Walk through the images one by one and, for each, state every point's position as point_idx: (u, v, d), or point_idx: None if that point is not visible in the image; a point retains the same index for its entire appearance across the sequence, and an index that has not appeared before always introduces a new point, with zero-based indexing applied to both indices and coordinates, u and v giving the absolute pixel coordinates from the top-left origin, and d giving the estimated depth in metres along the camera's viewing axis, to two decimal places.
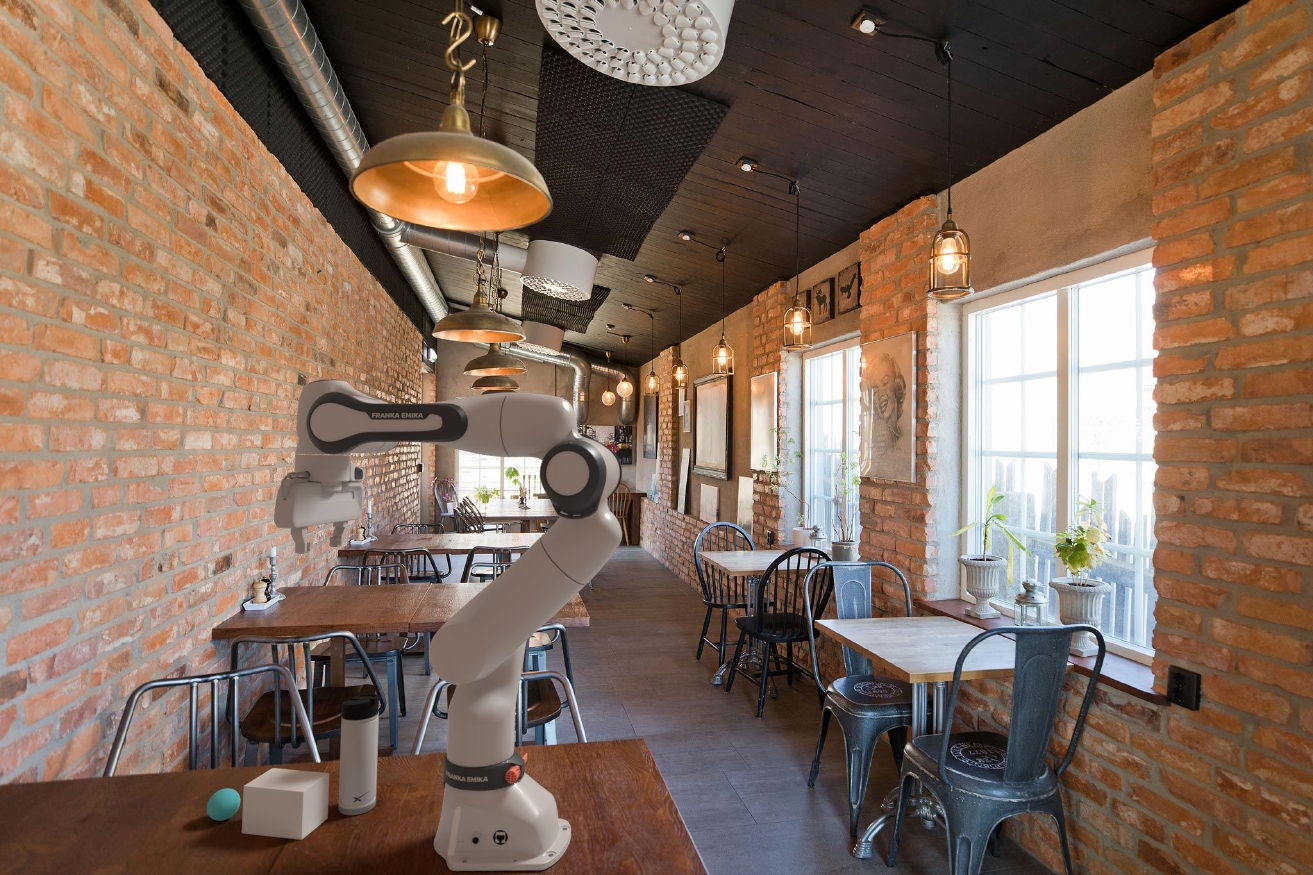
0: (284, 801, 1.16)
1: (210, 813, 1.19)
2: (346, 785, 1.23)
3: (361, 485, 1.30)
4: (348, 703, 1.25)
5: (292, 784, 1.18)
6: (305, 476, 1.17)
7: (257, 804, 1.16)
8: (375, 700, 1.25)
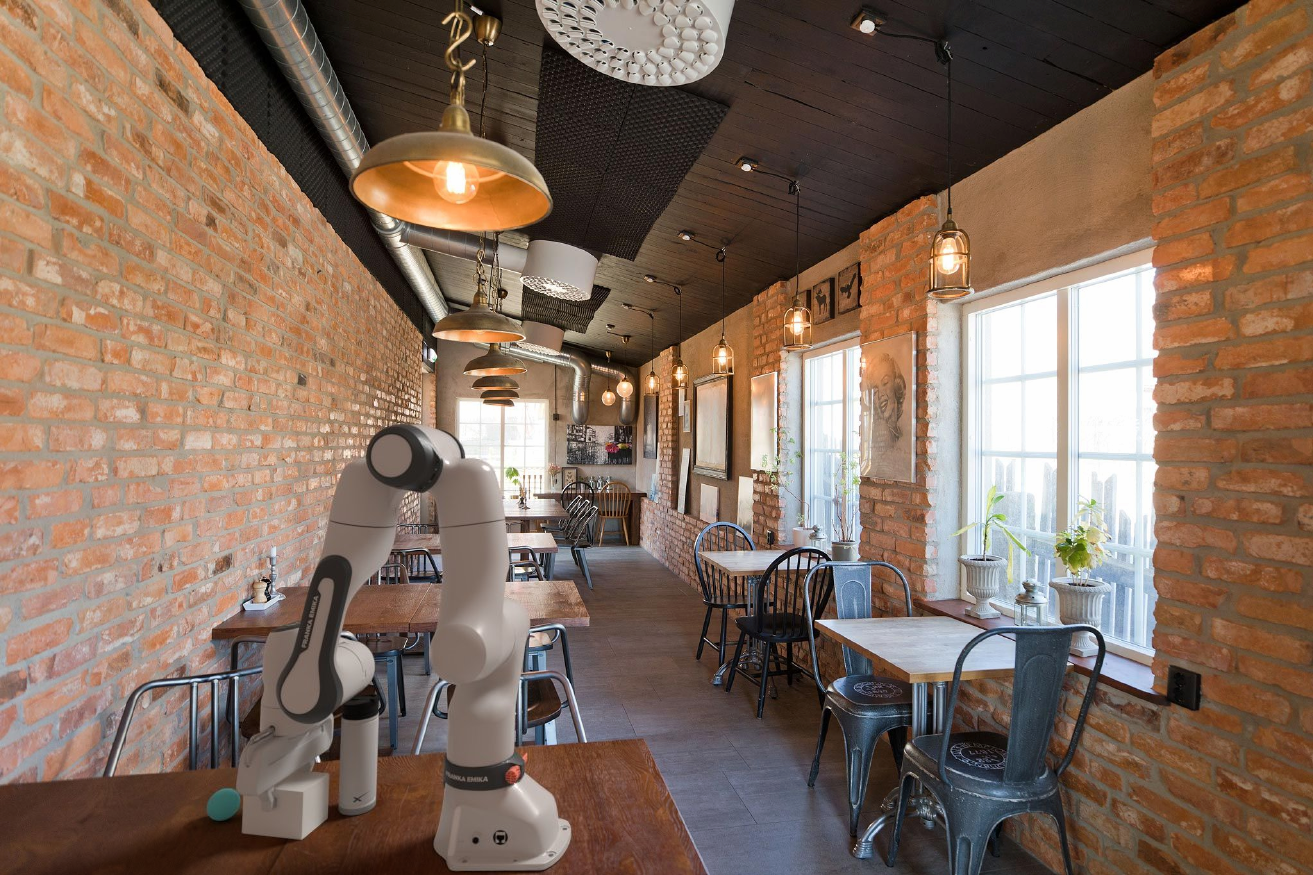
0: (284, 801, 1.16)
1: (210, 813, 1.19)
2: (346, 785, 1.23)
3: (331, 716, 1.27)
4: (348, 703, 1.25)
5: (292, 784, 1.18)
6: (270, 733, 1.14)
7: (257, 804, 1.16)
8: (375, 700, 1.25)
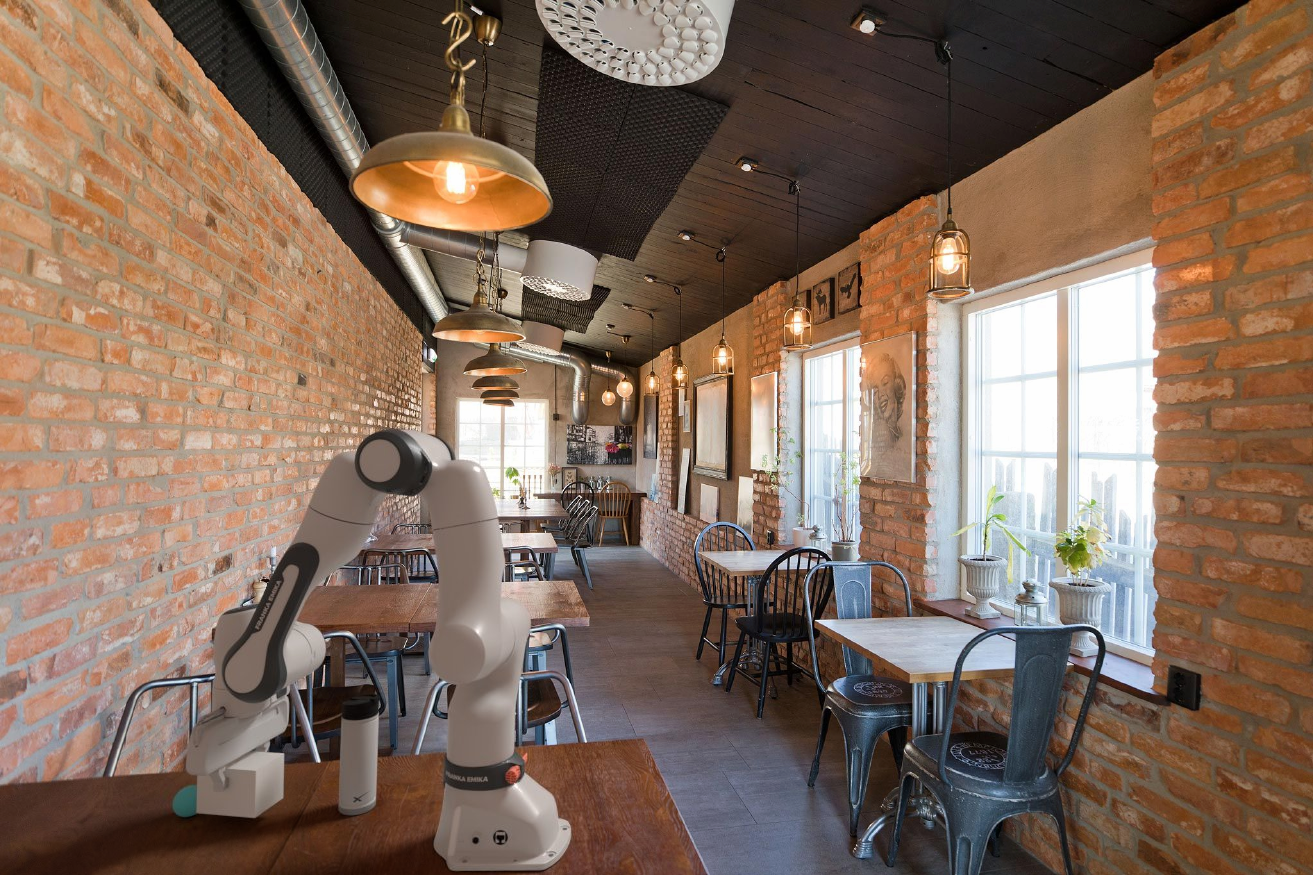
0: (237, 781, 1.17)
1: (182, 806, 1.20)
2: (346, 785, 1.23)
3: (285, 699, 1.29)
4: (348, 703, 1.25)
5: (246, 764, 1.19)
6: (220, 714, 1.16)
7: (211, 784, 1.18)
8: (375, 700, 1.25)
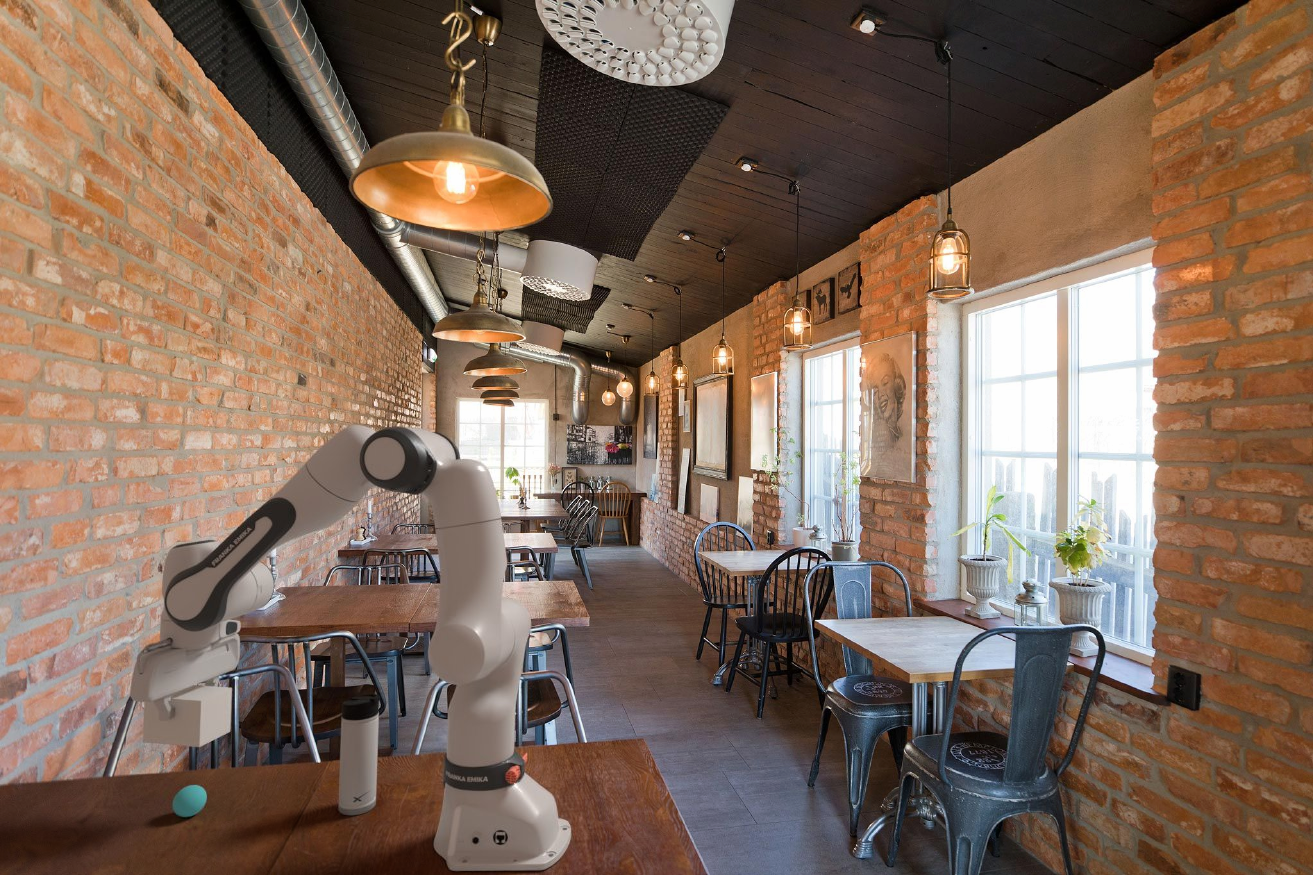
0: (183, 711, 1.19)
1: (182, 806, 1.20)
2: (346, 785, 1.23)
3: (236, 636, 1.31)
4: (348, 703, 1.25)
5: (192, 695, 1.21)
6: (167, 644, 1.18)
7: (158, 714, 1.20)
8: (375, 700, 1.25)
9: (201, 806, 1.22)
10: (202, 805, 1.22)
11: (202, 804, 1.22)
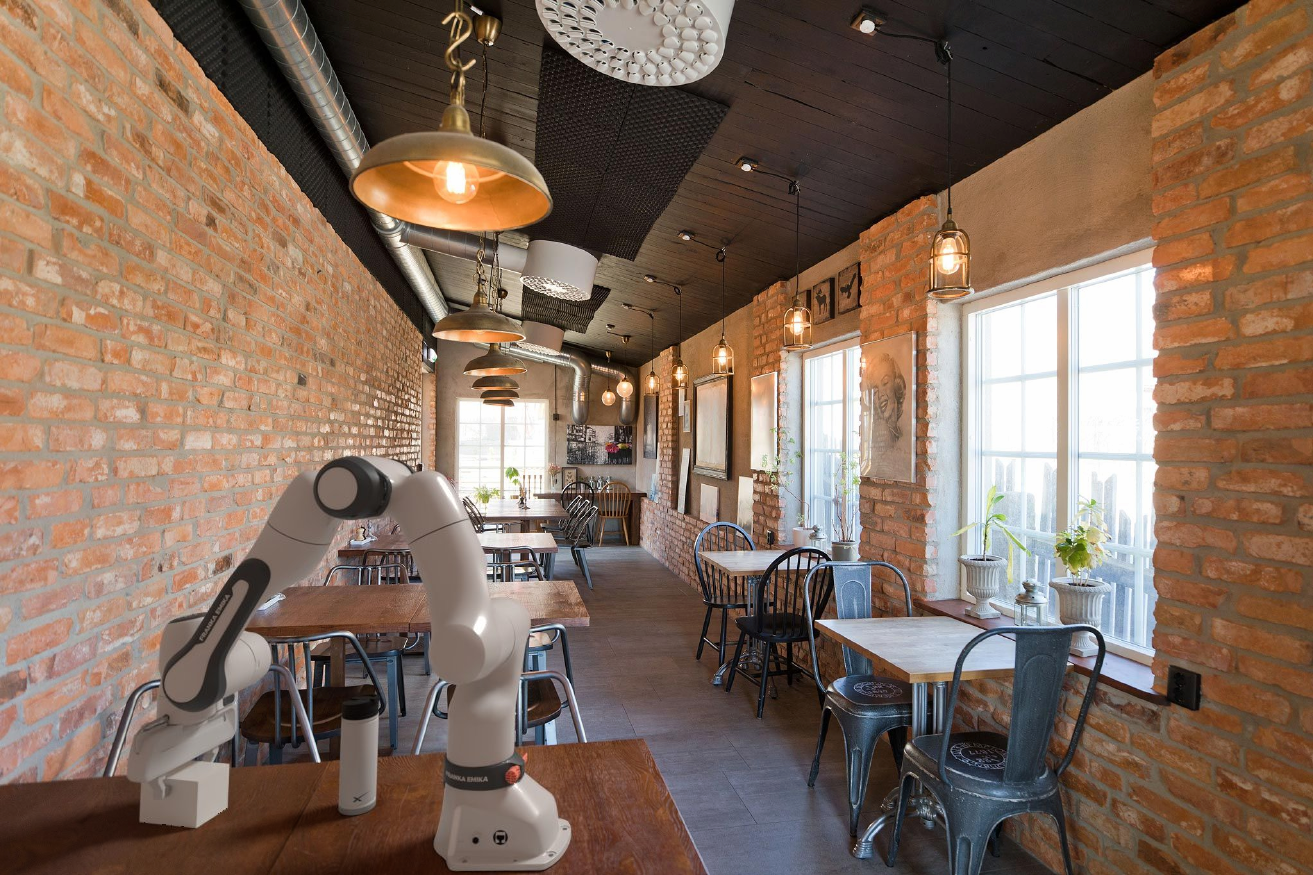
0: (180, 791, 1.18)
1: None
2: (346, 785, 1.23)
3: (233, 706, 1.30)
4: (348, 703, 1.25)
5: (189, 774, 1.21)
6: (163, 721, 1.17)
7: None
8: (375, 700, 1.25)
9: None
10: None
11: None
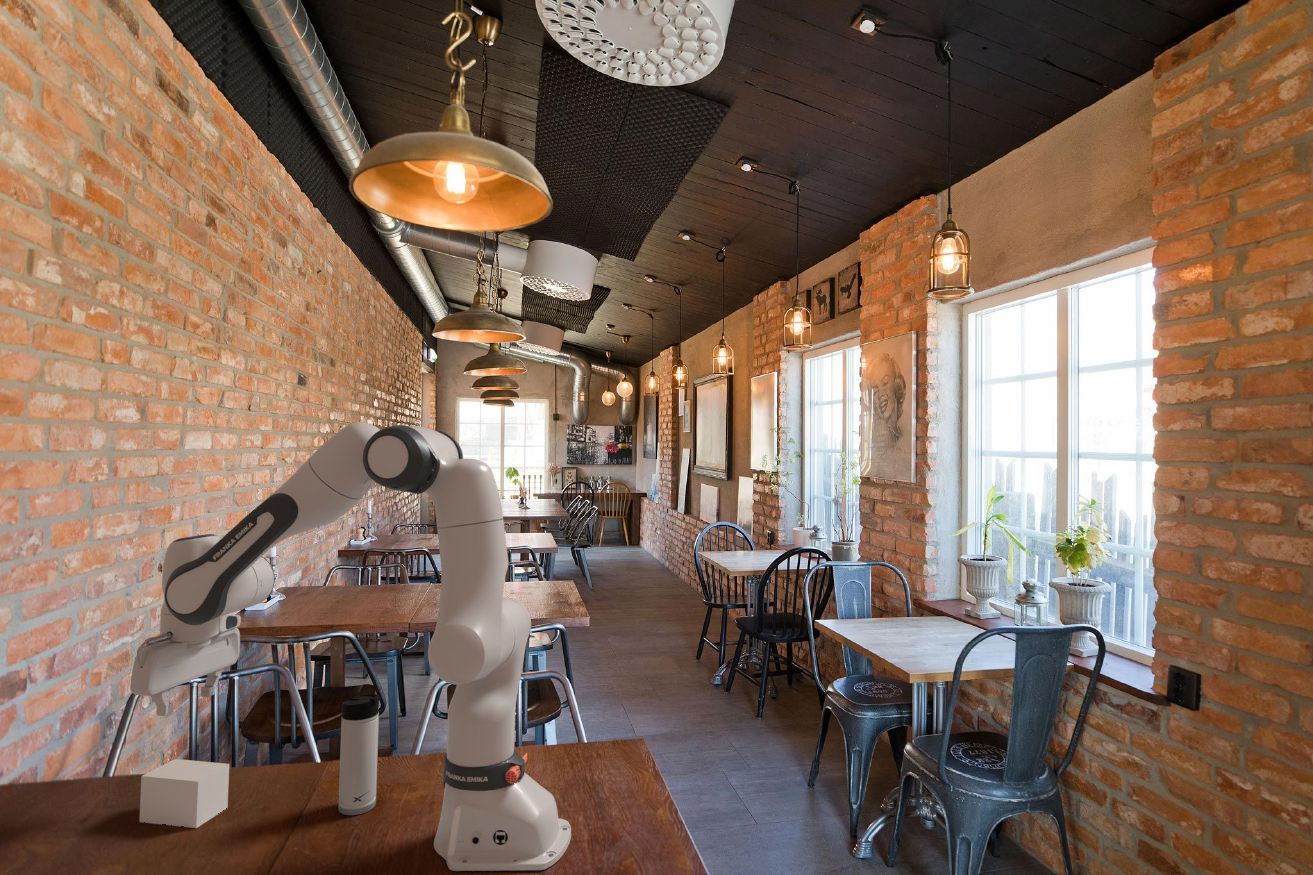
0: (180, 791, 1.18)
1: None
2: (346, 785, 1.23)
3: (236, 631, 1.31)
4: (348, 703, 1.25)
5: (189, 774, 1.21)
6: (167, 638, 1.18)
7: (154, 794, 1.19)
8: (375, 700, 1.25)
9: None
10: None
11: None
